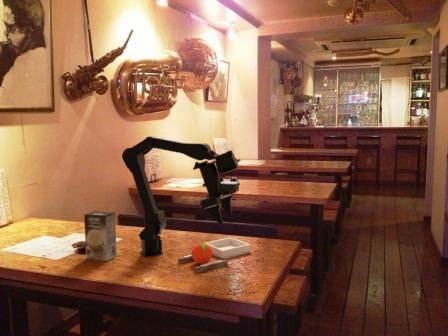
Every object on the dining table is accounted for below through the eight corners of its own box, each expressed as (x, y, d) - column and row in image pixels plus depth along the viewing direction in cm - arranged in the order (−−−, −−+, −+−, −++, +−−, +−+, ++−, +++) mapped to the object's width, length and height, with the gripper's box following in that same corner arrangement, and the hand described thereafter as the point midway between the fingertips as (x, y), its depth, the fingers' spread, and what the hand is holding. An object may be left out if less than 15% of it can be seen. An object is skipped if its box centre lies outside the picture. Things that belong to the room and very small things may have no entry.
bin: (222, 259, 139) (222, 250, 138) (203, 250, 149) (203, 242, 148) (250, 252, 145) (250, 244, 145) (230, 244, 155) (230, 237, 155)
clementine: (215, 266, 131) (215, 245, 131) (195, 269, 129) (194, 247, 129) (209, 259, 139) (209, 239, 138) (190, 261, 137) (189, 241, 136)
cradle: (196, 273, 126) (196, 267, 126) (178, 262, 136) (177, 257, 136) (227, 265, 133) (227, 259, 132) (208, 255, 143) (208, 250, 142)
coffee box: (85, 259, 142) (82, 214, 140) (96, 253, 148) (94, 210, 146) (107, 261, 139) (105, 215, 137) (117, 255, 145) (115, 211, 143)
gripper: (222, 175, 128) (238, 221, 129) (240, 166, 145) (254, 207, 146) (192, 185, 132) (208, 230, 133) (213, 175, 149) (227, 215, 150)
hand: (226, 220), depth 140 cm, fingers open, 9 cm apart
